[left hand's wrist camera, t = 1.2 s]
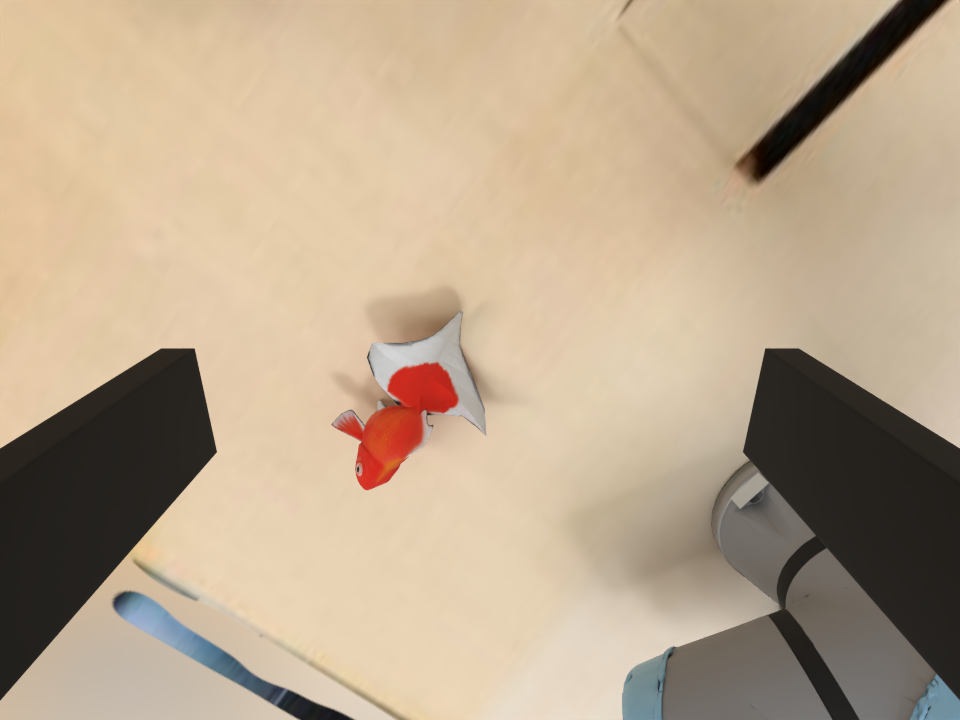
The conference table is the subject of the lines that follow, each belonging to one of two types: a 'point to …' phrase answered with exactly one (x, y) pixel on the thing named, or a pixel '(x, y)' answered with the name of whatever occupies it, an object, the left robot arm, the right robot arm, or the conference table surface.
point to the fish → (412, 400)
